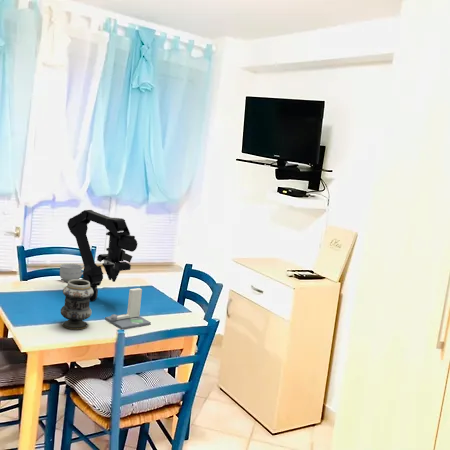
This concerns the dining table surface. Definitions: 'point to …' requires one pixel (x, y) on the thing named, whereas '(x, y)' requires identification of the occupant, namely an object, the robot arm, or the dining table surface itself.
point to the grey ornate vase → (76, 304)
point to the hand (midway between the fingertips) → (112, 280)
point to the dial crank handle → (131, 305)
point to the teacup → (70, 271)
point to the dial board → (129, 322)
